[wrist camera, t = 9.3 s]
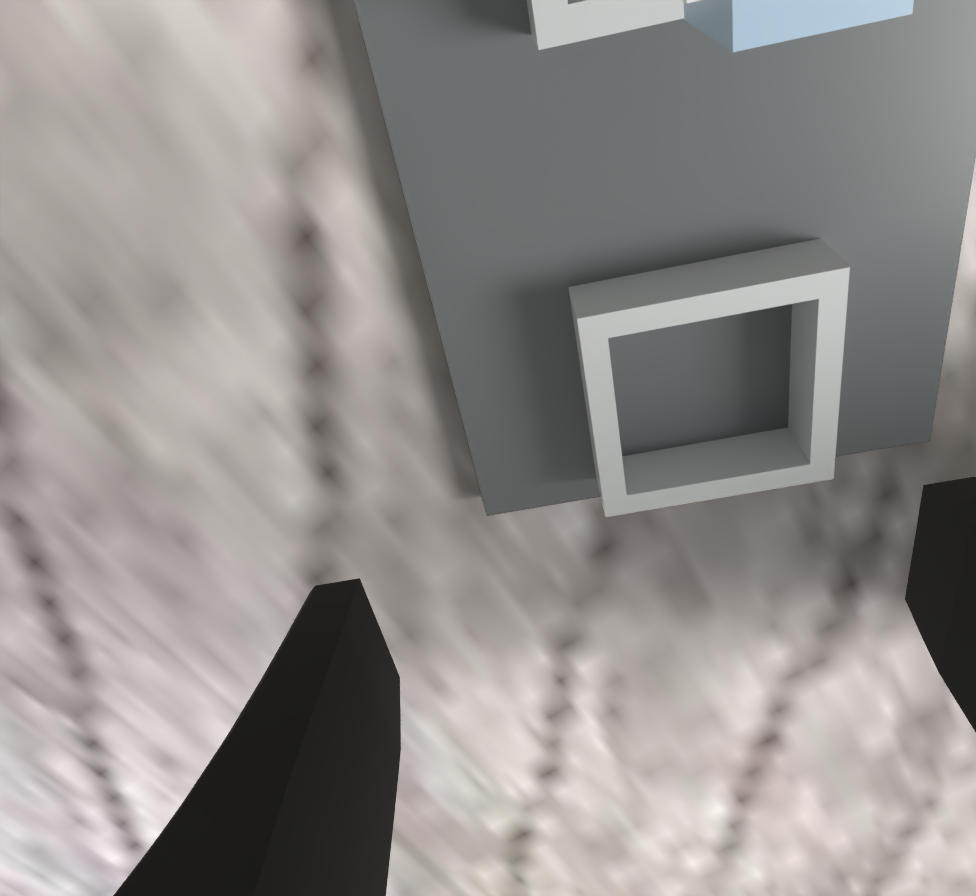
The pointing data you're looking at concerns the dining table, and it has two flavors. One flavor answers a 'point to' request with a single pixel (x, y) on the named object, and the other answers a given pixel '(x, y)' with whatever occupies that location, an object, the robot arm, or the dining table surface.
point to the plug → (784, 18)
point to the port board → (678, 237)
